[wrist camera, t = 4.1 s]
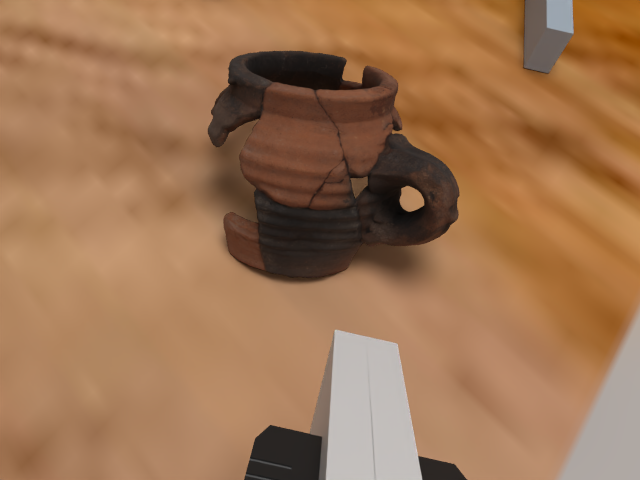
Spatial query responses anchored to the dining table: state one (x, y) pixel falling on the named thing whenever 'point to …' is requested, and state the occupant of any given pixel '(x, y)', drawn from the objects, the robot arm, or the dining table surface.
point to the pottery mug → (324, 164)
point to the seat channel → (546, 32)
